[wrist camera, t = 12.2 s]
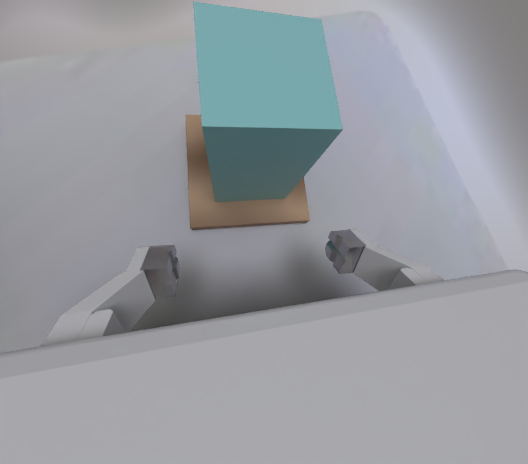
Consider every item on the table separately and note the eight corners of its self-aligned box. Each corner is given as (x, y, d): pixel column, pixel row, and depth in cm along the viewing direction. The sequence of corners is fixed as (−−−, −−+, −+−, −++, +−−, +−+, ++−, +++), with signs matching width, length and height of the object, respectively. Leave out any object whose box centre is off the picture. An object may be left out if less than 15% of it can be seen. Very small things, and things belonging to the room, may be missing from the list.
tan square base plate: (306, 222, 18) (361, 189, 11) (192, 229, 16) (162, 196, 9) (292, 125, 20) (332, 38, 12) (187, 121, 18) (159, 15, 10)
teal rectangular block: (285, 198, 18) (342, 129, 9) (215, 202, 16) (201, 126, 8) (276, 136, 18) (321, 19, 10) (210, 136, 17) (193, 1, 9)
